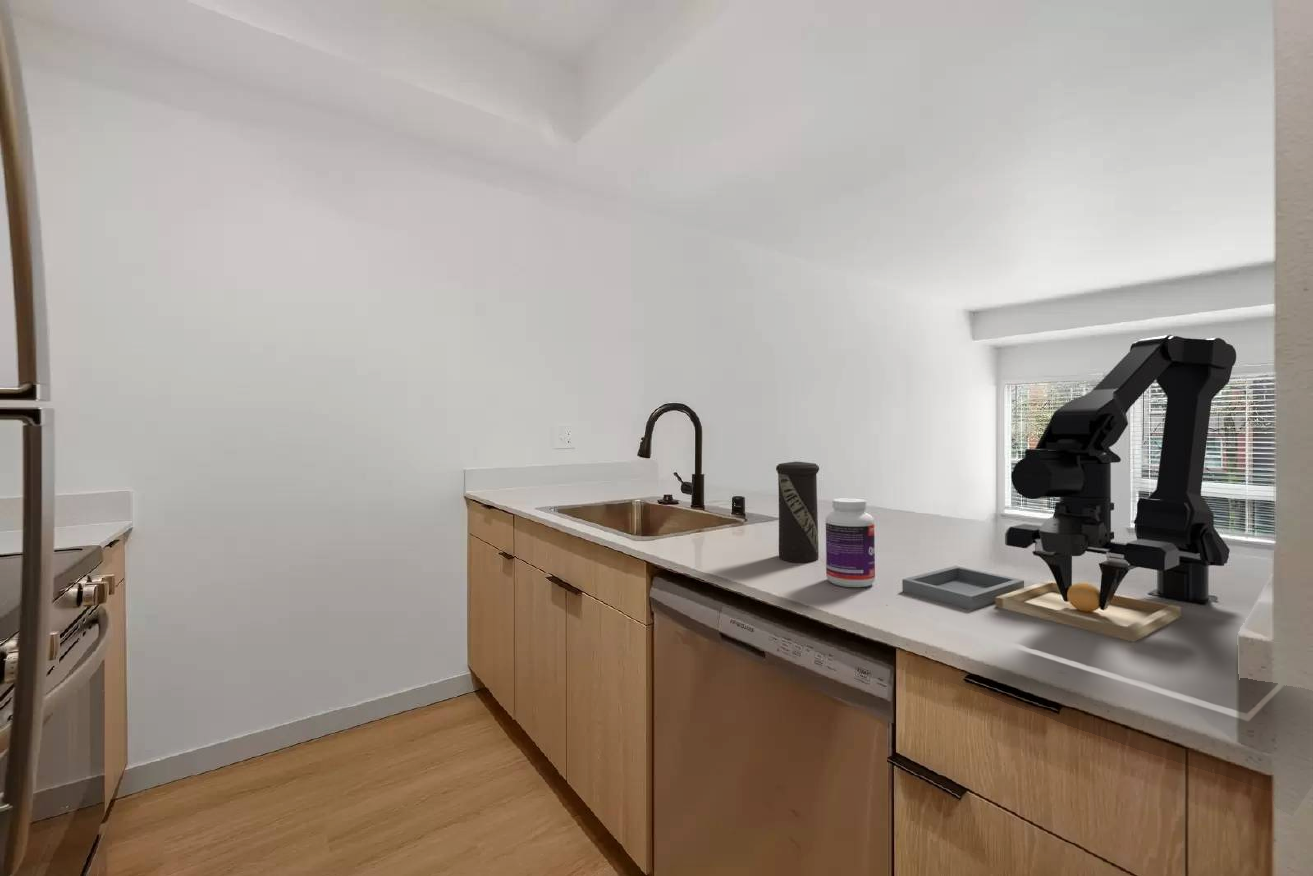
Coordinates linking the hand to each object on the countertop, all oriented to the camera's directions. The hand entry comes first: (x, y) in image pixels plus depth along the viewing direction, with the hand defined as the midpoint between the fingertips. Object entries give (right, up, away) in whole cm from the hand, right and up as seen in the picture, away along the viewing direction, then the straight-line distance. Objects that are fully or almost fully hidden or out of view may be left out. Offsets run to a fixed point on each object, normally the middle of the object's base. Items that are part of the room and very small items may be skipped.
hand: (1084, 605), depth 77 cm
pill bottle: (-27, -2, +18) cm, 32 cm away
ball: (0, -1, 0) cm, 1 cm away
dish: (0, -1, 0) cm, 1 cm away
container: (-31, -1, +36) cm, 48 cm away
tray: (-12, -1, +10) cm, 15 cm away
